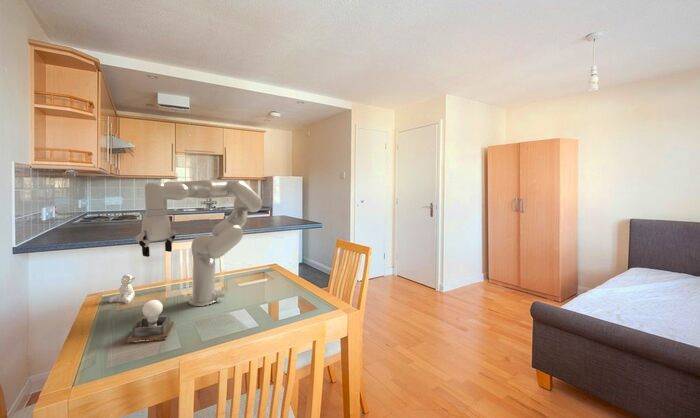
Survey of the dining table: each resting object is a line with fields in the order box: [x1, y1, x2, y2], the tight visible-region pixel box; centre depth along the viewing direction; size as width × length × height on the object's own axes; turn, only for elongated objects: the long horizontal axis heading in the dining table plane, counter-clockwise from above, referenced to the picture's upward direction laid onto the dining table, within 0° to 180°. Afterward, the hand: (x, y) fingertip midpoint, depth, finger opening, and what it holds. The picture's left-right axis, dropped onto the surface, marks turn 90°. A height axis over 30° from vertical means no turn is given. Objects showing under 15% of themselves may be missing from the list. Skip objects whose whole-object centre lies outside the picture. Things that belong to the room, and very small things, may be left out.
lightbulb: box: [142, 299, 164, 327], centre depth 115 cm, size 6×6×11 cm
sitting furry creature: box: [108, 274, 136, 305], centre depth 144 cm, size 10×9×12 cm
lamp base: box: [126, 315, 175, 344], centre depth 115 cm, size 12×12×4 cm
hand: (157, 253), depth 129 cm, fingers open, 9 cm apart
